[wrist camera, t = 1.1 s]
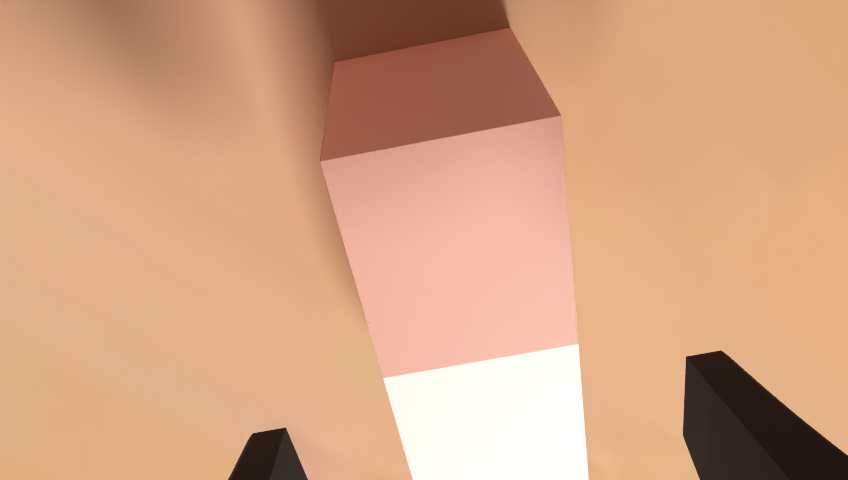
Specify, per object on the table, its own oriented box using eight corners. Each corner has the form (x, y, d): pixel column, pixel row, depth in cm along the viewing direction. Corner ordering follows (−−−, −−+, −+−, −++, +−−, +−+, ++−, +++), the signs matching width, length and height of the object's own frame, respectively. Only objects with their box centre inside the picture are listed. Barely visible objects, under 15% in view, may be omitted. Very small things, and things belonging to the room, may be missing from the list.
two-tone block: (509, 27, 15) (561, 115, 11) (546, 355, 21) (589, 497, 17) (334, 62, 16) (319, 161, 11) (415, 378, 21) (426, 524, 17)
